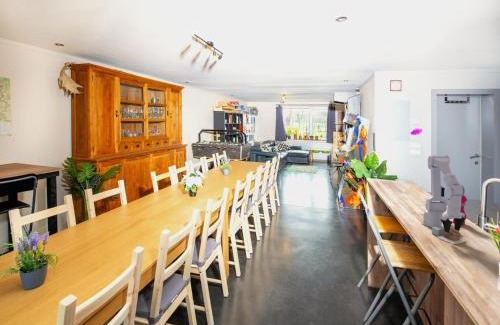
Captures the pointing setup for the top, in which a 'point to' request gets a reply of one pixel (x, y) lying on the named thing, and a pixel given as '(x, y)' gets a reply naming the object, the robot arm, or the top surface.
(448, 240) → the grey tile
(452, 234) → the walnut block
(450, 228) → the terracotta block
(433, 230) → the slate block
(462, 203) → the pepper mill
